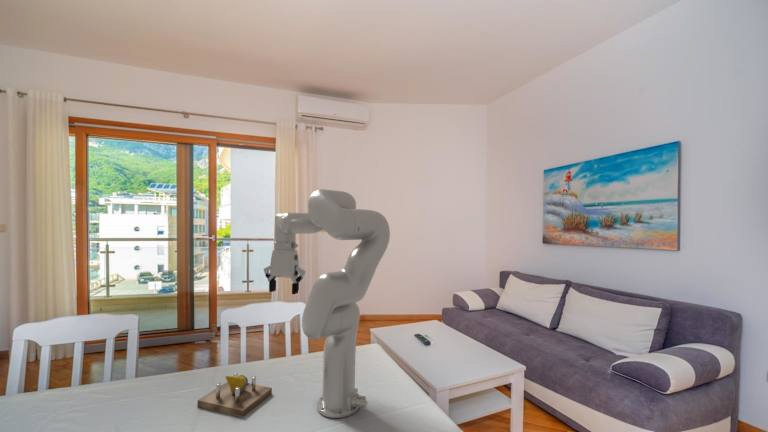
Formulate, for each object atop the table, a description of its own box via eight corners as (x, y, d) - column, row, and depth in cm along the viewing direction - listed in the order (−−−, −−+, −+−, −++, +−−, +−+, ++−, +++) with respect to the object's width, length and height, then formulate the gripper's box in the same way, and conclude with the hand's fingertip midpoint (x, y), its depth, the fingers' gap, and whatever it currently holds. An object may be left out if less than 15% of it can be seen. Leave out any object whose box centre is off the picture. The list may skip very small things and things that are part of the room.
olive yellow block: (252, 393, 99) (232, 381, 93) (236, 400, 99) (215, 389, 93) (253, 377, 103) (234, 364, 97) (238, 383, 103) (218, 371, 97)
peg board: (271, 393, 102) (272, 375, 102) (242, 417, 89) (243, 396, 89) (230, 385, 106) (231, 367, 107) (197, 406, 94) (198, 386, 94)
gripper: (310, 246, 121) (309, 292, 120) (271, 245, 126) (270, 288, 125) (299, 248, 114) (298, 296, 113) (258, 246, 119) (257, 292, 118)
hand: (283, 292), depth 119 cm, fingers open, 9 cm apart
